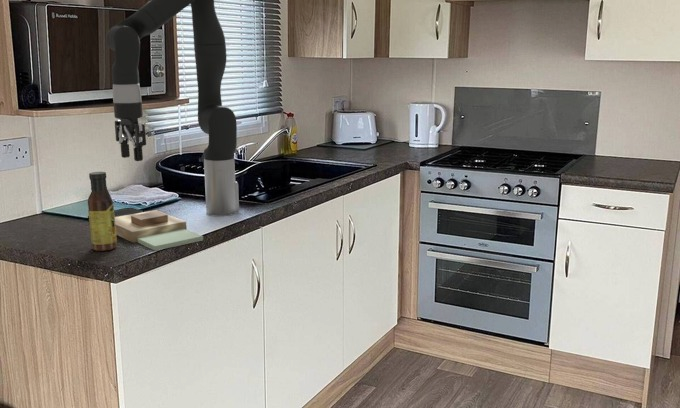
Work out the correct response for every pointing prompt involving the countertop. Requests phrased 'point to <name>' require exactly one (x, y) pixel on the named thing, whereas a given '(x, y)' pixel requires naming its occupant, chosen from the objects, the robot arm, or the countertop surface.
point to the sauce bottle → (101, 214)
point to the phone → (125, 211)
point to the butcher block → (145, 227)
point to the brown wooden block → (149, 218)
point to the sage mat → (169, 239)
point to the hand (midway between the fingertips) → (132, 158)
